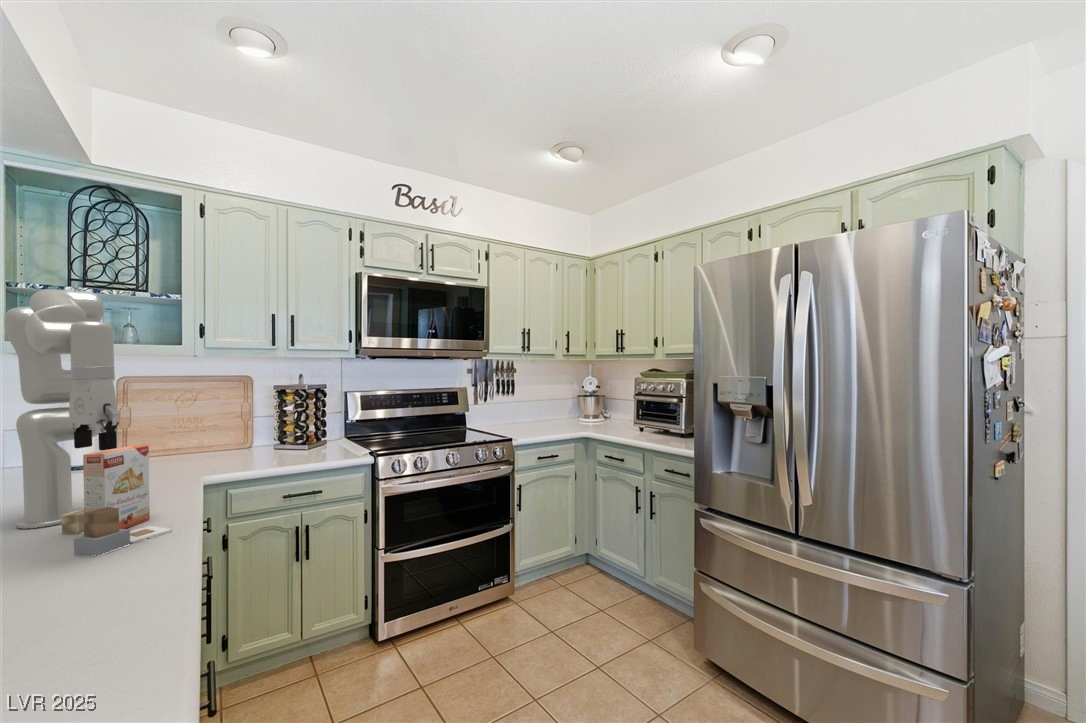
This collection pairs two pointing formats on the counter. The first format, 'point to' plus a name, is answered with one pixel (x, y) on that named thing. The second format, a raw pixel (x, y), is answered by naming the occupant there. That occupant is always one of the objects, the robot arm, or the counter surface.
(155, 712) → the counter surface
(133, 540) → the tile
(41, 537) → the counter surface
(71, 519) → the maple block
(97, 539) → the base block
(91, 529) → the walnut block
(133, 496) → the cracker box
